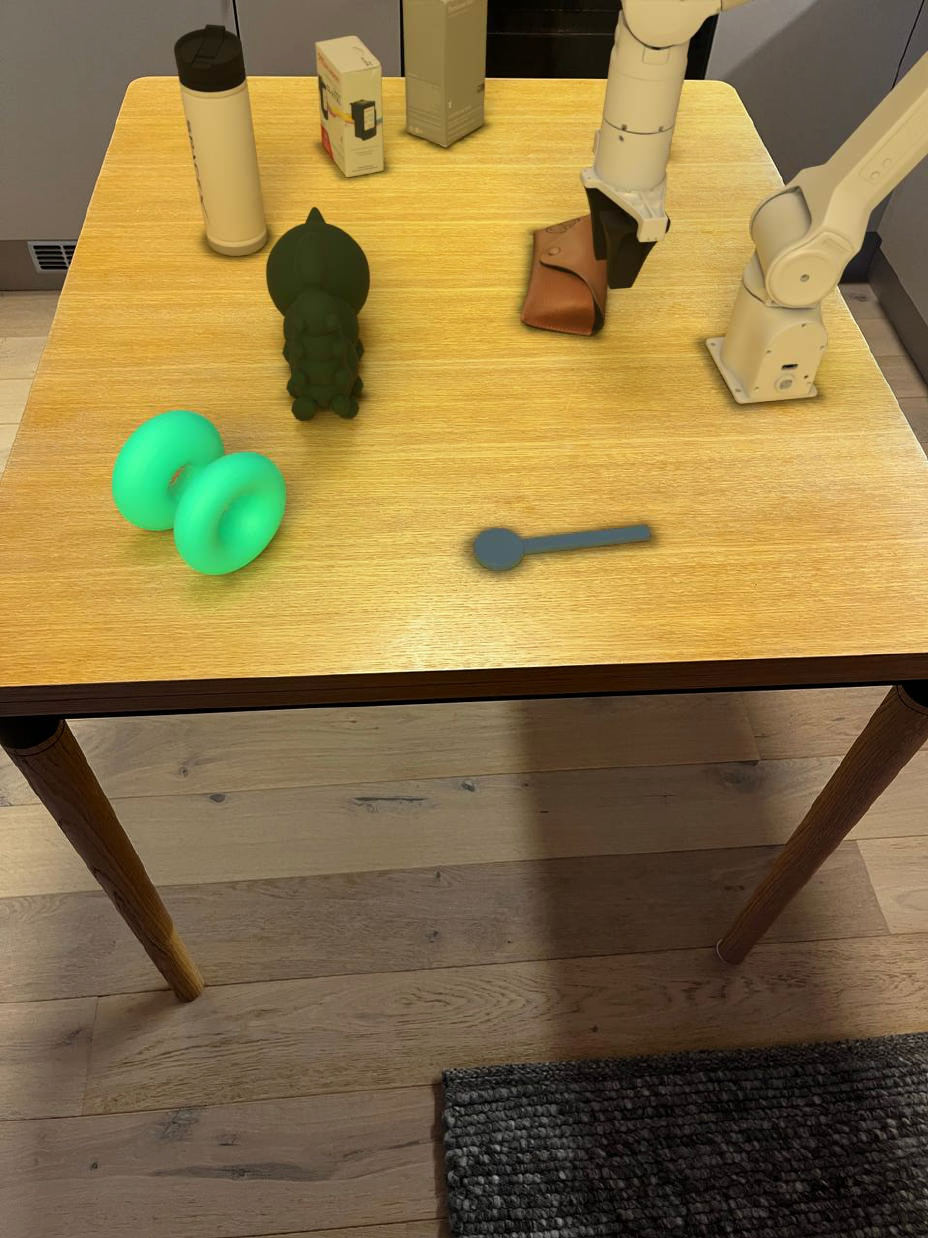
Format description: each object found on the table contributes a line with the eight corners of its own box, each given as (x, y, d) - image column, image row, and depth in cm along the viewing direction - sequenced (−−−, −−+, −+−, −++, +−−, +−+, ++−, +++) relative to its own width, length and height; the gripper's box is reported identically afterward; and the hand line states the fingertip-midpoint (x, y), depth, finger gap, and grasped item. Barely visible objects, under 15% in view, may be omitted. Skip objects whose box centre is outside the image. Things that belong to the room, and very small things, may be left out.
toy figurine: (382, 463, 89) (367, 278, 102) (377, 287, 73) (360, 96, 86) (275, 468, 88) (274, 281, 101) (245, 291, 72) (249, 97, 85)
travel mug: (274, 225, 109) (249, 26, 93) (260, 259, 105) (232, 56, 89) (217, 220, 109) (183, 20, 93) (201, 254, 105) (163, 51, 89)
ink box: (320, 144, 120) (312, 38, 111) (358, 137, 122) (353, 32, 112) (346, 178, 115) (339, 71, 106) (385, 171, 117) (382, 64, 108)
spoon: (654, 553, 81) (656, 547, 80) (478, 573, 79) (479, 567, 78) (640, 517, 83) (642, 511, 83) (469, 536, 81) (469, 530, 81)
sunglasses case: (529, 226, 109) (566, 178, 105) (580, 260, 112) (618, 215, 107) (517, 325, 98) (559, 276, 94) (574, 360, 101) (617, 315, 96)
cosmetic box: (446, 150, 120) (448, 4, 108) (399, 131, 123) (397, -13, 110) (487, 124, 125) (495, -18, 112) (442, 106, 127) (444, -35, 115)
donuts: (215, 475, 85) (195, 380, 77) (300, 533, 81) (287, 439, 73) (120, 541, 80) (88, 446, 72) (205, 605, 76) (181, 513, 68)
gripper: (567, 77, 82) (550, 230, 93) (615, 166, 73) (590, 324, 84) (649, 73, 83) (623, 225, 94) (706, 160, 74) (670, 317, 85)
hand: (612, 271), depth 89 cm, fingers open, 4 cm apart
